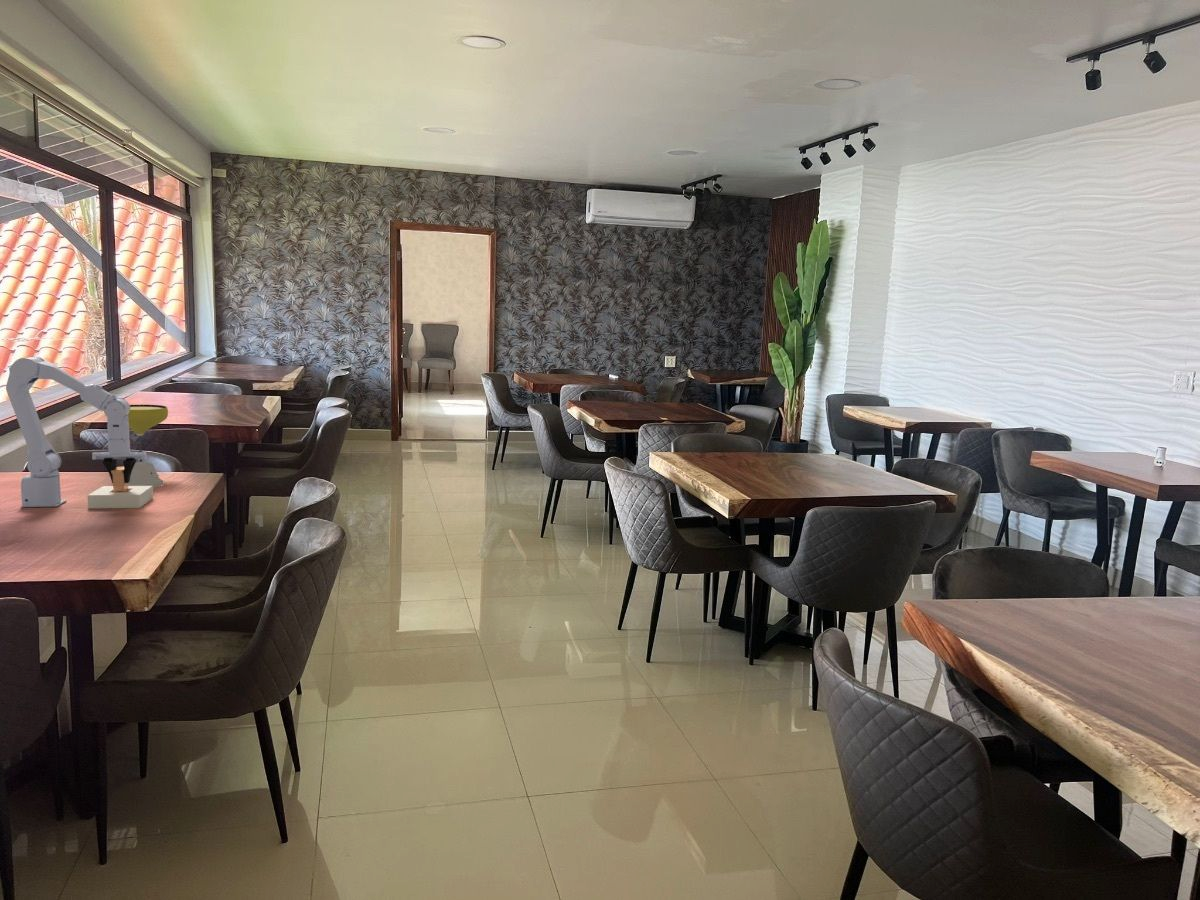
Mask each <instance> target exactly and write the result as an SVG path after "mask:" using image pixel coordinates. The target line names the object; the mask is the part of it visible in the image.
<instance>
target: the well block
mask: <svg viewBox="0 0 1200 900" xmlns="http://www.w3.org/2000/svg"><path fill="white" fill-rule="evenodd" d="M128 490H129V491H128V492H113V485H104V486H100V487H99V488H97V489H95V490H94V491H93V492H90V493H89V494H87V509H140V507H141V508H142V507H143V506H145V505H146V504H147V503H149V502H150V501H152V500H153V499H152V498H154V491H153V490H154V488H153V486H128ZM148 501H149V502H148ZM144 504H145V505H144Z"/></svg>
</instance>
